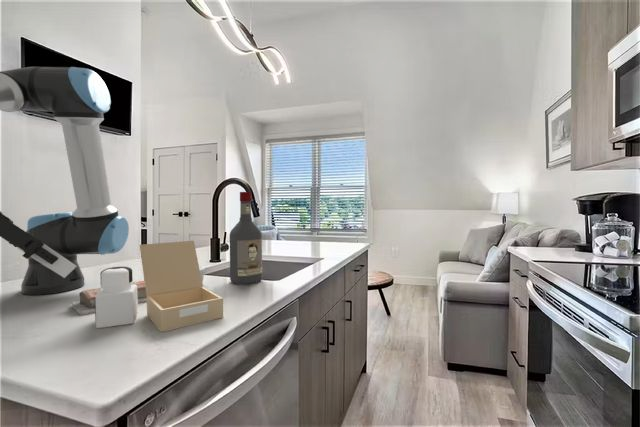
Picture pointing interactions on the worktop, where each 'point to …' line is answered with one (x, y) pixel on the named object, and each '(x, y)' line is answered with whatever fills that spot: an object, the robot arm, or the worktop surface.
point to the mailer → (176, 286)
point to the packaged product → (88, 296)
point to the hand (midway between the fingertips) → (61, 267)
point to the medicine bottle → (116, 298)
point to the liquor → (245, 246)
